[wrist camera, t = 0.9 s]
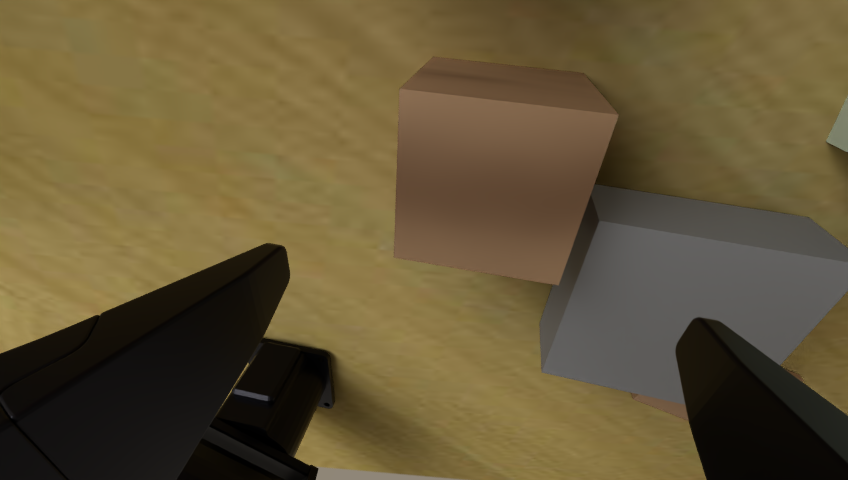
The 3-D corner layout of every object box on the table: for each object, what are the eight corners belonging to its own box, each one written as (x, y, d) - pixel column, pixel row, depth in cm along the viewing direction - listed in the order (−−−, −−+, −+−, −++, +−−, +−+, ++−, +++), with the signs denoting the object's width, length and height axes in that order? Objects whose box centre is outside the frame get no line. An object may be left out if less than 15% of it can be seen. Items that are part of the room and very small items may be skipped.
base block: (705, 358, 21) (734, 415, 18) (539, 323, 22) (541, 372, 20) (808, 217, 16) (870, 266, 13) (587, 182, 17) (599, 220, 15)
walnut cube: (545, 205, 19) (558, 285, 14) (423, 187, 19) (393, 257, 14) (582, 72, 15) (619, 114, 10) (433, 56, 16) (399, 88, 11)
